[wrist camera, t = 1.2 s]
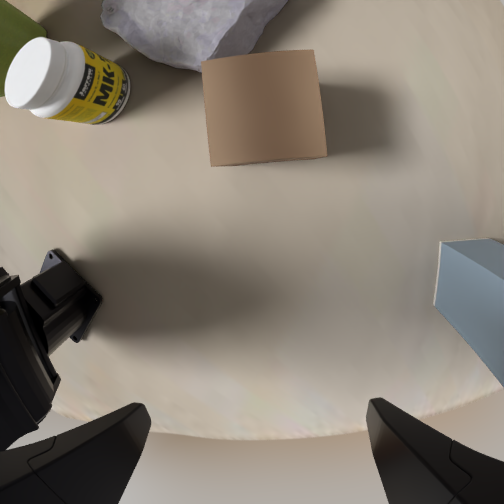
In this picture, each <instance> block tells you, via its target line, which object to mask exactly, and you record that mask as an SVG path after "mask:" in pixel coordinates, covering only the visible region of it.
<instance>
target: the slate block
mask: <svg viewBox="0 0 504 504" xmlns="http://www.w3.org/2000/svg"><path fill="white" fill-rule="evenodd" d="M433 305H434V306H435V307H436V308H437V310H438V311H439V312H440V313H441V314H442V315H443V316H444V317H445V318H446V319H447V320H448V321H449V323H450V324H451V325H452V326H453V327H454V328H455V329H456V330H457V331H458V333H459V334H460V335H461V336H462V337H463V338H464V339H465V341H466V342H467V343H468V344H469V345H470V346H471V348H472V349H473V350H474V351H475V352H476V353H477V355H478V356H479V357H480V358H481V359H482V361H483V362H484V363H485V364H486V366H487V367H488V368H489V369H490V371H491V372H492V373H493V374H494V376H495V377H496V378H497V379H498V381H499V382H500V383H501V385H502V386H503V387H504V245H503V244H501V243H499V242H497V241H495V240H492V239H490V238H476V239H463V240H450V241H440V244H439V257H438V269H437V278H436V287H435V294H434V301H433Z"/></svg>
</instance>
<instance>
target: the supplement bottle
mask: <svg viewBox="0 0 504 504" xmlns="http://www.w3.org/2000/svg"><path fill="white" fill-rule="evenodd" d="M129 94H130V80H129V76H128V74H127V72H126V71H125V70H124V69H123V68H122V67H121V66H119V65H117V64H115V63H114V62H112V61H110V60H108V59H106V58H104V57H102V56H100V55H98V54H96V53H94V52H92V51H90V50H88V49H86V48H84V47H83V46H81V45H78V44H76V43H73V42H68V41H64V42H58V41H55V40H51V39H48V38H45V37H38V38H35V39H32V40H31V41H29V42H28V43H27V44H25V45H24V46H23V47H22V48H21V50H20V51H19V52H18V53H17V55H16V56H15V58H14V59H13V61H12V63H11V65H10V67H9V70H8V73H7V76H6V80H5V97H6V100H7V102H8V103H9V105H11V106H12V107H15V108H20V109H27V110H30V111H31V112H32V113H33V114H34V115H36V116H38V117H41V118H48V119H56V120H64V121H72V122H79V123H85V124H93V125H100V124H104V123H107V122H109V121H111V120H112V119H114V118H115V117H116V116H117V115H118V114H119V113H120V112H121V111H122V110H123V108H124V106H125V105H126V103H127V101H128V98H129Z"/></svg>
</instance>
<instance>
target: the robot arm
mask: <svg viewBox="0 0 504 504" xmlns="http://www.w3.org/2000/svg"><path fill="white" fill-rule="evenodd" d="M52 255H53V257H52ZM20 283H21V281H20V278H19V275H14V276H9V273H7V272H6V271H5V270H4V268H3V267H0V504H118V503H119V501H120V499H121V497H122V495H123V492H124V490H125V488H126V486H127V484H128V482H129V480H130V477H131V475H132V473H133V471H134V469H135V467H136V465H137V463H138V461H139V459H140V456H141V453H142V451H143V448H144V445H145V442H146V439H147V436H148V433H149V430H150V427H151V418H150V416H149V414H148V411H147V409H146V407H145V405H144V404H142V403H135V402H134V403H131V404H129V405H127V406H125V407H122V408H120V409H118V410H116V411H114V412H111V413H109V414H107V415H105V416H102V417H100V418H98V419H95V420H93V421H91V422H88V423H86V424H84V425H81V426H79V427H76V428H74V429H72V430H69V431H67V432H64V433H62V434H59V435H57V436H53V437H50V438H47V439H45V440H42V441H39V442H36V443H33V444H29V445H25V446H22V447H18V448H14V449H9V450H6V449H7V448H8V447H9V446H10V445H11V444H12V443H13V442H15V441H16V440H17V439H18V438H20V437H22V436H24V435H25V434H27V433H30V432H32V431H35V430H37V429H38V428H39V426H38V424H39V423H40V422H41V421H42V420H43V419H44V418H45V417H46V415H47V414H48V412H49V411H50V410H51V407H52V404H51V403H52V400H53V398H54V396H55V393H56V391H57V388H58V386H59V384H60V381H61V378H60V377H59V375H58V373H56V371H55V369H54V367H53V365H52V363H51V361H50V359H49V356H50V355H51V354H52V353H53V352H54V351H55V350H56V349H57V348H58V347H59V346H60V345H61V344H62V343H63V342H64V341H66V340H67V339H68V338H69V337H70V338H71V339H72V340H73V341H74V342H76V343H78V342H79V341H80V340H81V339H82V337H83V335H84V334H85V332H86V330H87V328H88V326H89V325H90V323H91V321H92V319H93V317H94V316H95V314H96V312H97V310H98V309H99V307H100V305H101V304H102V297H101V296H100V294H98V293H97V292H96V291H95V290H94V289H93V288H92V287H91V286H90V285H89V284H88V283H87V282H86V281H85V280H84V279H83V278H82V277H81V276H80V275H79V274H78V273H77V272H76V271H75V270H74V269H73V268H72V267H71V266H70V265H69V264H68V263H67V262H66V261H65V260H64V259H63V258H62V257H61V256H60V255H59V254H58V253H57V252H56V251H55V250H53V249H52V250H50V251H48V252H47V255H46V257H45V260H44V263H43V265H42V268H41V271H40V273H39V274H38V275H36V276H34V277H33V278H32V279H30V280H28V281H26V282H25V283H23V284H21V285H20ZM95 298H96V299H97V301H96V299H95ZM366 421H367V427H368V432H369V437H370V442H371V448H372V453H373V457H374V459H375V463H376V466H377V469H378V472H379V475H380V477H381V481H382V484H383V487H384V490H385V492H386V496H387V499H388V502H389V504H504V462H503V461H500V460H497V459H495V458H492V457H489V456H486V455H484V454H482V453H479V452H477V451H475V450H472V449H471V448H469V447H466V446H465V445H462V444H461V443H459V442H457V441H455V440H453V441H452V439H451V438H449V437H447V436H445V435H444V434H442V433H440V432H439V431H437V430H435V429H433V428H432V427H430V426H428V425H426V424H424V423H423V422H421V421H420V420H418V419H416V418H415V417H413V416H411V415H410V414H408V413H406V412H405V411H403V410H401V409H400V408H398V407H396V406H395V405H393V404H391V403H390V402H388V401H386V400H385V399H383V398H381V397H379V398H373V399H370V401H369V404H368V410H367V415H366Z"/></svg>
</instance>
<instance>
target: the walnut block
mask: <svg viewBox="0 0 504 504" xmlns="http://www.w3.org/2000/svg"><path fill="white" fill-rule="evenodd" d="M201 68H202V80H203V92H204V103H205V113H206V124H207V134H208V143H209V153H210V162H211V167H212V166H237V165H247V164H257V163H268V162H279V161H293V160H308V159H316V158H321V157H326V156H327V147H326V137H325V128H324V119H323V111H322V103H321V95H320V88H319V81H318V74H317V68H316V61H315V55H314V50H290V51H275V52H264V53H254V54H245V55H238V56H231V57H224V58H218V59H212V60H206V61H201Z"/></svg>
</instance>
